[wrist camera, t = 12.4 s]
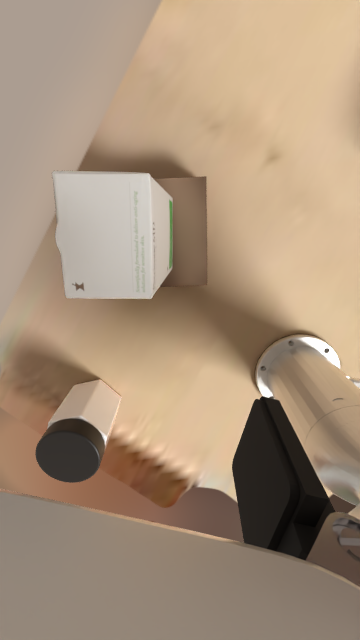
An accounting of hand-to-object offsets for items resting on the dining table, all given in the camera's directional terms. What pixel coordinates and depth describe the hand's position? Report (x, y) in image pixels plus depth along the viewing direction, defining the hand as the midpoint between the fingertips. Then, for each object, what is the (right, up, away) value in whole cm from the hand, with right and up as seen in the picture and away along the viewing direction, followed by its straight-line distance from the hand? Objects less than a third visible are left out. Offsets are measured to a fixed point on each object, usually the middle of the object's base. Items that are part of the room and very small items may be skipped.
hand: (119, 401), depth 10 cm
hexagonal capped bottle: (-12, -11, +37) cm, 41 cm away
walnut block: (-1, +14, +29) cm, 33 cm away
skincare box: (-2, +13, +23) cm, 27 cm away
